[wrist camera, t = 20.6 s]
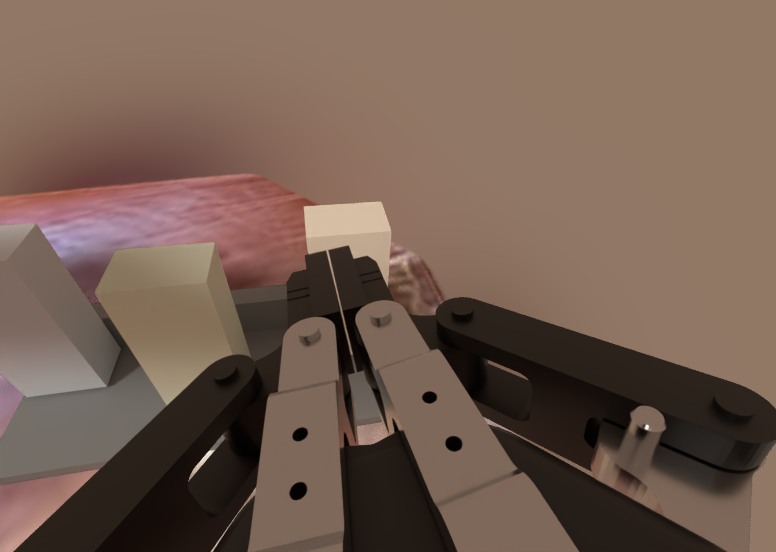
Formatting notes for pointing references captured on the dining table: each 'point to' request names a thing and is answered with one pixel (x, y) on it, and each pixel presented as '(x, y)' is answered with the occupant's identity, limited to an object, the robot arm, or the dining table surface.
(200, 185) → the dining table surface
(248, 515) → the robot arm
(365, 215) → the tile one
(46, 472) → the tile stand
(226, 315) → the tile two
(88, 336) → the tile three
